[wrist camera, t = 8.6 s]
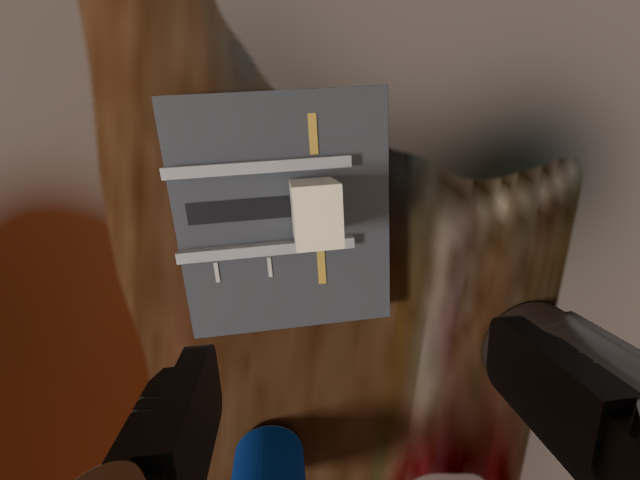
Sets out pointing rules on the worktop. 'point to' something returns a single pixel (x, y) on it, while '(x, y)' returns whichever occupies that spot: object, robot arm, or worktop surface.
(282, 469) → the beverage can
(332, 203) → the fader tab
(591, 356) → the robot arm
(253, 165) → the fader console
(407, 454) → the worktop surface
